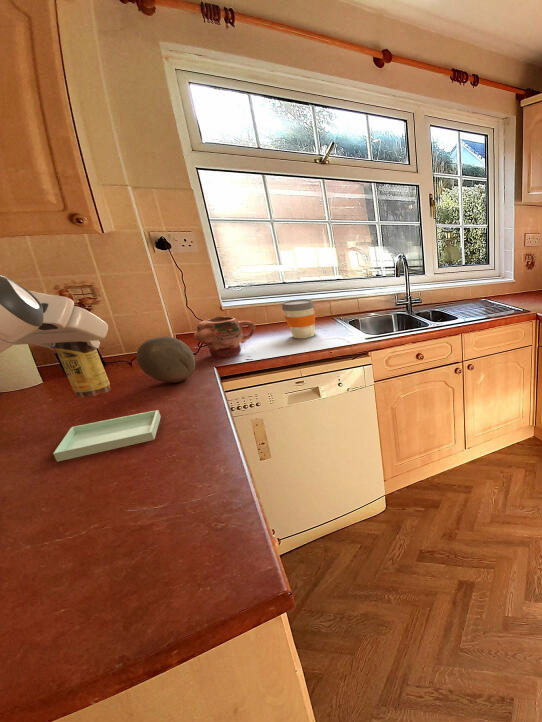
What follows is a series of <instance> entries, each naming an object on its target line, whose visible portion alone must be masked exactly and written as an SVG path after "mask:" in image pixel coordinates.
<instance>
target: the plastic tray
mask: <svg viewBox="0 0 542 722" xmlns="http://www.w3.org/2000/svg"><path fill="white" fill-rule="evenodd" d="M161 418H162V417H161V414H160V410H159V409H155V410H151V411H147V412H140V413H136V414H131V415H125V416H121V417H115V418H110V419H105V420H100V421H96V422H90V423H85V424H81V425H75V426H71V427H70V429H69V430H68V431H67V433H66V434H65V436H64V437H63V438H62V440H61V442H60V443H59V444H58V446H57V447H56V448H55V450H54V451H53V453H52V454H53V456H54V459H55V461H56V463H58V462H62V461H67V460H71V459H75V458H76V459H77V458H81V457H84V456H88V455H92V454H98V453H101V452H106V451H110V450H116V449H119V448H124V447H129V446H133V445H137V444H142V443H146V442H150V441H155V439H156V435H157V432H158V429H159V425H160V421H161Z"/></svg>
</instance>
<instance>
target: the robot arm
mask: <svg viewBox="0 0 542 722" xmlns="http://www.w3.org/2000/svg"><path fill="white" fill-rule="evenodd" d="M108 331H109V324H108V323H107V322H106V321H104V320H102V319H101V318H100V317H98V316H97V315H95V314H94V313H92V312H90V311H89V310H87V309H85V308H83V307H80V306H76V305H75V301H74V300H72V299H71V298H69V297H67V296H62V295H54V294H46V293H42V292H37V291H33V290H28V289H26V288H25V287H23V286H21V285H20V284H19V283H17V282H15V281H14V280H12V279H10V278H8V277H7V276H5V275H1V274H0V354H1V353H3V352H4V351H6V350H8V349H9V348H11V347H12V346H17V345H20V346H21V345H35V346H39V347H42V348H48V349H50V350H52V351H56V349H55V343H59V342H78V341H82V342H86V343H85V346H86V347H89V348H96V349H99V348H100V345H101V342H100V341H104V340H105V339H106V337H107V334H108Z"/></svg>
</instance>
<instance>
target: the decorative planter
mask: <svg viewBox="0 0 542 722" xmlns="http://www.w3.org/2000/svg"><path fill="white" fill-rule="evenodd" d="M246 326H247V327H249V328H250V329H251V330H250V332H249V334H248V335H245V334H244V333H243V328H244V327H246ZM255 331H256V325H255V324H254V323H253V321H250V320H237V318H235V317H233V316H215V317H211V318H208V319H206V320H205V319H204V320H201V321H200V322H198V324H197V326H196V331H195V332H194V334H193V338H194V339H195V340H196V341H198V342H201V343H203V344H204V345H205V346H206V347H207V348H208V349H209V350H208V351H209V353H210V356H211V357H212V358H228V357H235V356H238V355H240V354H241V351H242V348H241V344H244V343H246V342H247V341H248V340H250V339H251V337H253V335H254V334H255Z"/></svg>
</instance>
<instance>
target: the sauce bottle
mask: <svg viewBox="0 0 542 722" xmlns="http://www.w3.org/2000/svg"><path fill="white" fill-rule="evenodd" d="M85 343H86V342H82V341H78V342H59V343H55V349H56V350H55V351H56V354H57V356H58V358H59V361H60V362H61V365H62V368H63V370H64V372H65V374H66V377H67V379H68V382H69V383H70V386H71V388H72V390H73V392H74V393H75V395H76V397H78V398H79V399H83V398H84V399H85V398H86V399H87V398H89V399H90V398H95V397H98V396H102V395H104V394H107V393H109V392H111V391H112V386H110V384H111V383H110V380H109V377H108V375H107V372H106V369H105V367H104V365H103V363H102V360H101V357H100V355H99V352H98V350H97V348H89V347H86V346H85Z"/></svg>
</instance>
